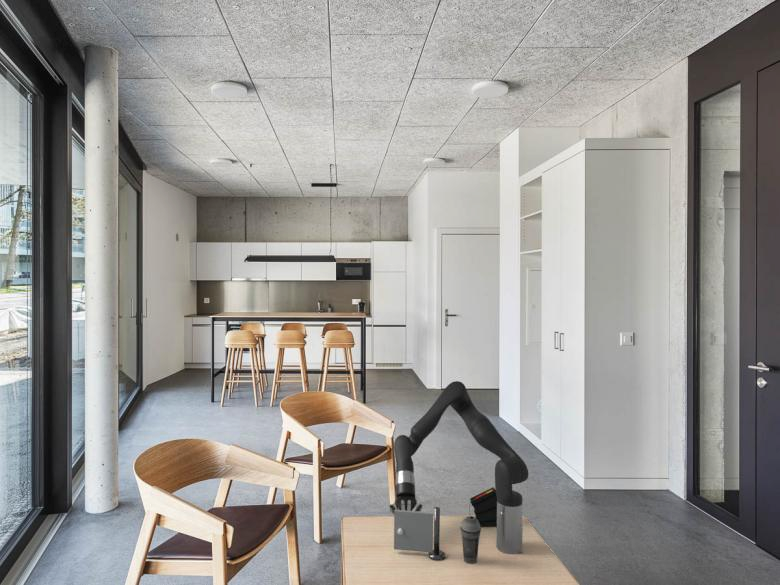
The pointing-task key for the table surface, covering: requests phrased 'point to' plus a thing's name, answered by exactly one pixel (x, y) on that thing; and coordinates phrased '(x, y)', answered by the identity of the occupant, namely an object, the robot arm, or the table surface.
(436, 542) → the hinge post
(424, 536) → the door
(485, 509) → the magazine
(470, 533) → the beverage cup
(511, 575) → the table surface
